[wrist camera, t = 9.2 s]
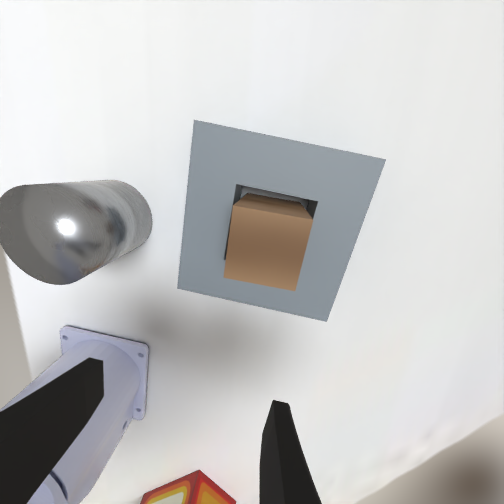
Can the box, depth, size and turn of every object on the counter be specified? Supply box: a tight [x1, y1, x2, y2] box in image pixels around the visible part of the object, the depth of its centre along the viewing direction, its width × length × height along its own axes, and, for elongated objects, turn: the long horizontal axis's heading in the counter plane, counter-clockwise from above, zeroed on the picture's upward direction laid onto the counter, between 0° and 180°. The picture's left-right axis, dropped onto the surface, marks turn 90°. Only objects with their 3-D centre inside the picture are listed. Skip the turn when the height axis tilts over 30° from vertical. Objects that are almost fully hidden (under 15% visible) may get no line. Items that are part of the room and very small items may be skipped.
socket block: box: [177, 120, 386, 322], centre depth 15 cm, size 10×10×3 cm
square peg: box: [223, 193, 313, 291], centre depth 14 cm, size 4×4×6 cm
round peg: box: [0, 180, 152, 285], centre depth 15 cm, size 5×5×6 cm
